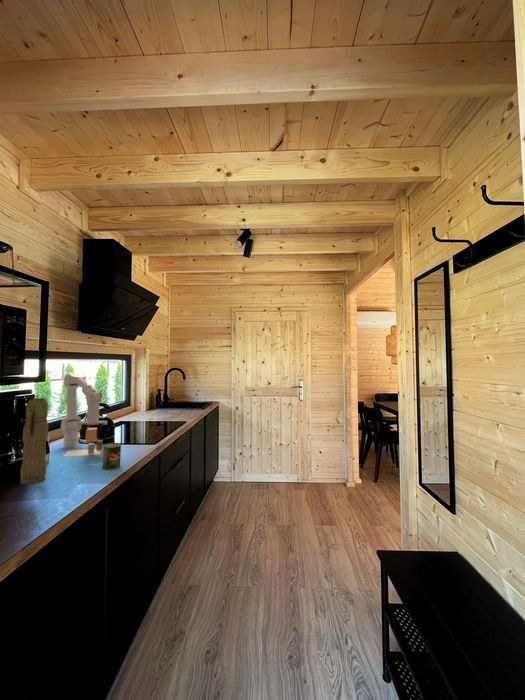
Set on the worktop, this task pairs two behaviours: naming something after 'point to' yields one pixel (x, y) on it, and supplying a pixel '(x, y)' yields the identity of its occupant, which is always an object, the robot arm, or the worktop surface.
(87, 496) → the worktop surface
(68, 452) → the board
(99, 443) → the walnut post
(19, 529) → the worktop surface
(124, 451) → the worktop surface
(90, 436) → the tan wooden block
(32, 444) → the tan tall block
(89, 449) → the grey post
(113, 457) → the canned tomato
